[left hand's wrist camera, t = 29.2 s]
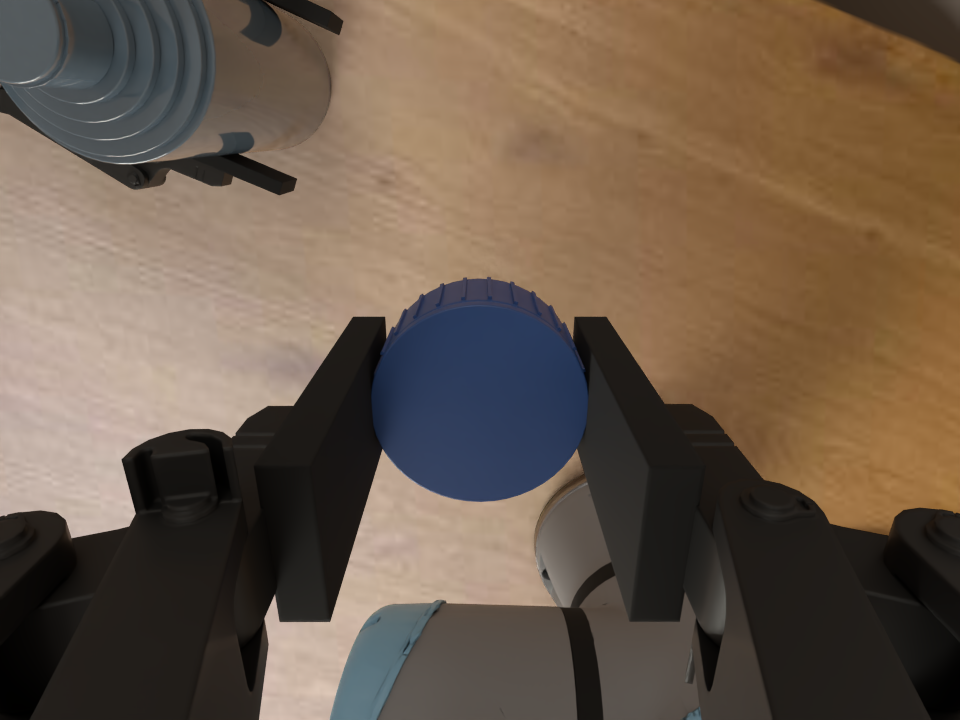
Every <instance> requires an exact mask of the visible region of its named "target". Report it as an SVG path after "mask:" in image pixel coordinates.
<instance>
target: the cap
mask: <svg viewBox="0 0 960 720" xmlns="http://www.w3.org/2000/svg"><path fill="white" fill-rule="evenodd" d="M380 355H381V358H380V360H379V362H378V365H377V367H376V369H375V372H374V379H373V383H372V388H371V401H372V414H373V426H374V430H375V433H376V436H377V438H378V440H379V442H380V444H381V447H382V448H383V450H384V451H385V453H386V454H387V456H388V458H389V459H390V460H391V461H392V462H393V464H394V465H395V466H396V467H397V468H398V469H399V470H400V471H401V472H402V473H403V474H404V475H406V476H407V477H408V478H409V479H411V480H412V481H414V482H415V483H416V484H418V485H420V486H422V487H423V488H425V489H427V490H429V491H431V492H434V493H436V494H439V495H441V496H445V497H449V498H452V499H457V500H464V501H476V502H485V501H496V500H502V499H508V498H511V497H514V496H518V495H521V494H523V493H526V492H528V491H530V490H533V489H534V488H536V487H538V486H540V485H541V484H543V483H545V482H546V481H547V480H549V479H550V478H551V477H553V476H554V475H555V474H556V473H557V472H558V471H559V470H560V469H562V468H563V467H564V465H565V464H566V463H567V462H568V461H569V459H570V458H571V457H572V455H573V454H574V452H575V450H576V449H577V447H578V446H579V443H580V441H581V439H582V437H583V434H584V431H585V428H586V421H587V409H588V386H587V381H586V378H585V375H584V372H586V370H585V367H584V365H583V363H582V361H581V358H580V356H579V354H578V351H577V349H576V346H575V344H574V342H573V340H572V337H571V335H570V333H569V330H568V328H567V326H566V324H565V322H564V323H561V321H560V320H559V318H558V316H557V315H556V314H555V311H554V309H553V307H552V306H551V305H550V306H548V305H547V304H545V303H544V302H543V301H542V300H541V299H540V298H538V297H537V296H536V294H535V292H533V291H532V292H531V293H530V292H529V291H527V290H525V289H523V288H521V287H519V286H516V285H515V284H514V282H510V283H507V282H503V281H498V280H492V279H491V277H487V279H468V280H467V278H463V280H462V281H457V282H452V283H449V284H446V285H444V283H443V284H440V287H439V288H437V289H435V290H433V291H431V292H429V293H427V294H426V295H423V294H422V295H420V297H419V299H418V300H417V301H416V302H415V303H414V304H413V305H412V306H411V307H410V308H409V309H408V310H407V309H404V311H403V313H402V315H401V317H400V320H399V322H398V323H397V325H396V327H395V328H394V327H392V328H391V331H390V333H389V335H388V337H387V340H386V342H385V344H384V346H383V349H382V351H381V353H380Z"/></svg>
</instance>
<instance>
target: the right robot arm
mask: <svg viewBox="0 0 960 720" xmlns="http://www.w3.org/2000/svg"><path fill="white" fill-rule="evenodd" d="M264 1H266V2H268V3H271V4H273V5H275V6H277V7H279V8H281V9H284V10H286V11H288V12H290V13H292V14H294V15H297V16H299V17H301V18H303V19H305V20H307V21H309V22H312V23H314V24H316V25H318V26H320V27H322V28H325V29H327V30H329V31H331V32H333V33H335V34H338V35H339V34H340V31H341V28H342V24H343V20H341V19H340V18H339V17H338V16H336V15H335V14H334V13H333V12H331V11H329V10H327V9H325V8H323V7H321V6H318V5H316V4H314V3H312V2H310V1H308V0H264ZM0 112H2V113H6V114H9V115H11V116H13V117H14V118H16V119H18V120H19V121H21V122H22V123H24V124H26V125H27V126H29V127H31V128H32V129H34V130H36V131H37V132H39V133H41V134H42V135H44V136H45V137H47V138H49V139H50V140H52V141H54V142H55V143H57V144H59V143H58V142H56V141H55V140H53V139H52V138H50V137H49V136H48V135H46V134H45V133H44V132H43V131H41V130H40V129H39V128H38V127H37V126H36V125H34V124H33V123H32V122H31V121H30V120H29V119H28V117H27V116H26V115H25V114H24V113H23V112H22V111H21V110H20V109H19V107H18V106H17V105H16V104H15V103H14V101H13V100H12V99H11V98H10V96H9V95H8V94H7V92H6V91H5V89H4V88H3V86H2V84H1V83H0ZM59 145H60V146H62V145H61V144H59ZM62 147H64V146H62ZM64 148H65V149H67V150H68V151H70V152H72V153H73V154H75V155H77V156H78V157H80V158H82V159H83V160H85V161H87V162H88V163H90V164H91V165H93V166H95V167H96V168H98V169H100V170H101V171H103V172H105V173H106V174H108V175H110V176H111V177H113V178H115V179H116V180H118V181H119V182H121V183H123V184H124V185H126V186H128V187H129V188H132V189H143V188H149V187H155V186H160V185H162V184H164V182H165V180H166V174H167V173H168V172H169V170H170V169H172V170H174V171H176V172H179V173H181V174H184V175H186V176H189V177H191V178H193V179H196V180H198V181H201V182H203V183H206V184H208V185H210V186H225V185H229V184H231V182H232V178H233V176H234V177H237V178H239V179H241V180H244V181H246V182H249V183H251V184H253V185H256V186H258V187H261V188H263V189H265V190H268V191H270V192H273V193H275V194H277V195H282V194H285V193H288V192H291V191H294V188H295V184H296V181H297V179H296V178H294V177H292V176H289V175H287V174H284V173H282V172H280V171H277V170H275V169H273V168H270V167H268V166H266V165H263V164H261V163H258V162H256V161H254V160H251V159H249V158H247V157H244V156H242V155H239V154H231V155H220V156H210V157H200V158H190V159H180V160H170V161H160V162H150V163H140V164H113V163H107V162H101V161H98V160H94V159H91V158H87V157H85V156H83V155H80V154H78V153H76V152H73V151H71V150H70V149H68V148H66V147H64Z"/></svg>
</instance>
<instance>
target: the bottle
mask: <svg viewBox="0 0 960 720" xmlns="http://www.w3.org/2000/svg"><path fill="white" fill-rule="evenodd" d="M0 83H1V84H2V86H3V88H4V89H5V91H6V92H7V94H8V95H9V96H10V98H11V99H12V100H13V101H14V103H15V104H16V105H17V106H18V107H19V109H20V110H21V111H22V112H23V113H24V114H25V115H26V116H27V117H28V119H29V120H30V121H31V122H32V123H33V124H34V125H36V126H37V127H38V128H39V129H40V130H41V131H43V132H44V133H45V134H46V135H48V136H49V137H50V138H52V139H53V140H55V141H56V142H58V143H59V144H61V145H62V146H64V147H66V148H68V149H70V150H71V151H73V152H76V153H78V154H80V155H83V156H85V157H87V158H91V159H94V160H98V161H101V162H107V163H113V164H140V163H150V162H160V161H170V160H180V159H190V158H200V157H210V156H220V155H231V154H241V153H251V152H261V151H271V150H280V149H287V148H290V147H294V146H296V145H298V144H300V143H302V142H303V141H305V140H307V139H308V138H309V137H310V136H311V135H312V134H313V133H314V132H315V131H316V130H317V129H318V127H319V126H320V124H321V123H322V121H323V119H324V117H325V115H326V112H327V109H328V106H329V101H330V92H331V84H330V75H329V70H328V66H327V63H326V59H325V57H324V55H323V53H322V50H321V49H320V47H319V45H318V43H317V42H316V40H315V39H314V38H313V36H312V35H311V34H310V33H309V32H308V31H307V29H306V28H305V27H304V26H302V25H301V24H300V23H299V22H298V21H296V20H295V19H293V18H292V17H290V16H289V15H287V14H285V13H284V12H282V11H280V10H279V9H277V8H275V7H274V6H272V5H270V4H269V3H267V2H265V1H264V0H0Z"/></svg>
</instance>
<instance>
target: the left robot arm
mask: <svg viewBox="0 0 960 720" xmlns="http://www.w3.org/2000/svg"><path fill="white" fill-rule="evenodd" d="M386 340H387V339H386V324H385V317H353V318H352V319H351V321H350V322H349V324H348V325H347V327H346V328H345V330H344V331H343V333H342V334H341V336H340V337H339V339H338V340H337V342H336V343H335V345H334V346H333V348H332V349H331V351H330V352H329V354H328V355H327V357H326V358H325V360H324V361H323V363H322V364H321V366H320V367H319V369H318V370H317V372H316V373H315V375H314V376H313V378H312V379H311V381H310V382H309V384H308V385H307V387H306V388H305V390H304V391H303V393H302V394H301V396H300V397H299V399H298V400H297V402H296V403H295V405H294V406H267V407H266V408H264V409H262V410H261V411H259V412H257V413H256V414H254V415H252V416H251V417H249V418H247V420H246V421H245V422H244V423H243V425H242V426H241V427H240V428H239V430H238V431H237V432H236V436H233V437H232V438H230V437H229V436H228V435H226V434H225V433H223V432H220V431H215V430H211V429H189V430H183V431H178V432H172V433H168V434H165V435H162V436H159V437H156V438H153V439H150V440H148V441H146V442H144V443H142V444H141V445H139V446H137V447H135V448H133V449H132V450H131V451H130V452H129V453H128V454H127V455H126V456H125V457H124V458H123V459H122V463H123V467H124V471H125V474H126V478H127V482H128V486H129V489H130V493H131V497H132V501H133V505H134V508H135V512H136V515H135V517H134V518H133V520H132V522H131V524H130V526H129V527H126V528H122V529H118V530H112V531H107V532H102V533H97V534H92V535H87V536H81V537H76V538H71V535H70V532H69V529H68V526H67V523H66V520H65V519H64V518H63V517H61V516H60V515H59V514H57V513H54V512H47V511H31V512H18V513H13V514H8V515H7V516H1V517H0V720H259V714H260V706H261V699H262V691H263V683H264V675H265V667H266V660H267V652H268V638H267V631H266V625H265V620H264V618H265V615H266V613H267V611H268V609H269V606H270V604H271V602H272V599H273V597H274V595H275V597H276V603H277V608H278V614H279V620H280V622H330V620H331V617H332V614H333V611H334V607H335V604H336V601H337V597H338V594H339V591H340V587H341V584H342V581H343V578H344V574H345V571H346V568H347V564H348V561H349V558H350V554H351V551H352V548H353V544H354V541H355V538H356V535H357V531H358V528H359V525H360V521H361V518H362V515H363V511H364V508H365V505H366V502H367V498H368V495H369V492H370V488H371V485H372V482H373V478H374V475H375V472H376V469H377V465H378V462H379V459H380V455H381V452H382V449H383V448H382V447H381V444H380V442H379V440H378V438H377V436H376V433H375V430H374V426H373V414H372V401H371V388H372V383H373V379H374V372H375V369H376V367H377V365H378V362H379V360H380V358H381V355H380V353H381V351H382V349H383V346H384V344H385V342H386ZM573 342H574V344H575V346H576V349H577V351H578V354H579V356H580V358H581V361H582V363H583V365H584V367H585V370H586V372H584V375H585V378H586V381H587V386H588V409H587V421H586V428H585V431H584V434H583V437H582V439H581V441H580V443H579V446H578V447H577V450H578V453H579V457H580V460H581V463H582V466H583V470H584V473H585V474H584V475H582V476H580V477H578V478H576V479H574V480H573V481H571V482H570V483H568V484H567V485H565V486H564V487H563V488H562V489H560V490H559V491H558V492H557V493H556V494H555V495H554V496H553V497H552V499H551V500H550V501H549V502H548V504H547V505H546V506H545V508H544V510H543V511H542V513H541V515H540V518H539V520H538V523H537V526H536V530H535V537H534V548H535V556H536V563H537V568H538V571H539V574H540V576H541V579H542V581H543V583H544V585H545V587H546V589H547V590H548V592H549V594H550V595H551V597H552V598H553V600H554V602H555V603H556V605H557V606H558V607H548V606H514V605H481V604H448V603H446V601H445V600H437V601H435V602H433V603H421V604H392V605H388V606H385V607H382V608H380V609H379V610H378V611H376V612H375V613H373V614H372V615H371V616H370V617H369V618H368V620H367V621H366V622H365V624H364V625H363V627H362V629H361V630H360V632H359V634H358V636H357V638H356V640H355V642H354V644H353V647H352V649H351V651H350V654H349V656H348V659H347V662H346V665H345V668H344V671H343V674H342V677H341V680H340V683H339V686H338V690H337V693H336V697H335V701H334V704H333V708H332V712H331V716H330V720H960V514H959V513H956V514H955V513H953V512H952V511H947V510H941V509H939V510H938V509H928V508H915V509H908V510H903V511H902V512H901V513H899V514H898V515H897V516H895V518H894V521H893V524H892V527H891V530H890V534H889V536H887V535H882V534H877V533H872V532H867V531H861V530H856V529H851V528H846V527H841V526H837V525H833V524H830V523H829V521H828V519H827V517H826V515H825V514H824V512H823V511H822V510H821V509H820V507H819V506H818V505H817V504H816V503H815V501H813V500H812V499H810V498H808V497H807V496H805V495H804V494H802V493H801V492H799V491H797V490H795V489H792V488H790V487H787V486H785V485H782V484H780V483H775V482H771V481H766V480H763V478H762V477H761V476H760V475H759V474H758V472H757V471H756V470H755V469H754V467H753V466H752V465H751V464H750V462H749V461H748V460H747V459H746V457H745V456H744V455H743V454H742V452H741V451H740V450H739V449H738V447H737V446H734V443H733V441H732V440H731V439H730V438H729V436H728V435H727V434H724V430H723V429H722V428H721V426H720V425H719V424H718V423H717V421H716V420H715V419H714V418H713V417H712V416H711V415H709V414H707V413H706V412H704V411H702V410H701V409H699V408H697V407H696V406H694V405H692V404H664V402H663V401H662V399H661V398H660V396H659V395H658V393H657V392H656V390H655V389H654V387H653V386H652V384H651V383H650V381H649V380H648V378H647V377H646V375H645V374H644V372H643V371H642V369H641V368H640V366H639V365H638V363H637V362H636V360H635V359H634V357H633V356H632V354H631V353H630V351H629V350H628V348H627V347H626V345H625V344H624V343H623V341H622V340H621V338H620V337H619V335H618V334H617V332H616V331H615V329H614V328H613V326H612V325H611V323H610V322H609V320H608V319H607V317H574V333H573Z"/></svg>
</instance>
